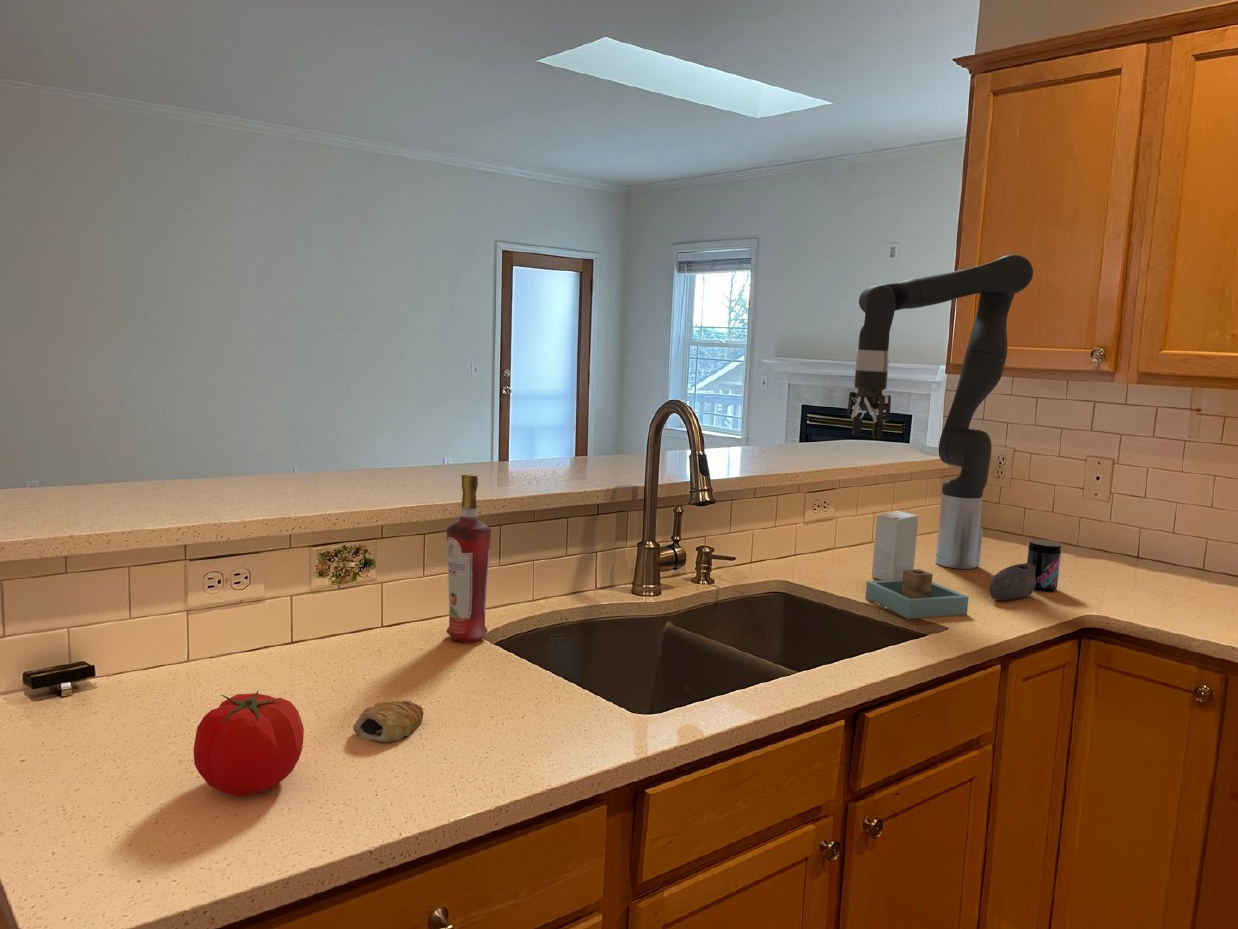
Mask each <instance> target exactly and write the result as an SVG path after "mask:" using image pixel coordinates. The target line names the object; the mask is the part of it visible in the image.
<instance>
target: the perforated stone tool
mask: <svg viewBox="0 0 1238 929" xmlns="http://www.w3.org/2000/svg"><path fill="white" fill-rule="evenodd" d="M1035 571H1036V566H1034V565H1033V564H1030V563H1027V562H1026V563H1019V564H1013V565H1010V566H1008V567H1006V568H1003V569H1001V570H1000V571H999V572H997V573H996V574H995V575H994V576H993V577H992V579H991V580H990V582H989V589H988V590H989V594H990V596H991V598H993V599H994V600H996V601H1013V600H1018V599H1022V598H1024V597H1027V596H1029V595H1031V594H1032V593H1033V592H1034V591H1035V590H1034V588H1035V586H1036V578H1035Z"/></svg>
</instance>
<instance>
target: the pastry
mask: <svg viewBox="0 0 1238 929" xmlns="http://www.w3.org/2000/svg"><path fill="white" fill-rule="evenodd" d="M423 717H424V708H423V707H422V706H421V705H419V704H417V703H416V702H415V703H414V702H412V701H411V700H402V701H400V700H396V701H389V702H388V701H387V702H386V701H384V702H383V701H382V702H380V703H379V702H378V703H375V704H374V705H373V706H369V707H366V708H365V709H364V711H363V712H362V713H361V714H360V715H359V717H358V718H357V720H356V722H355V723H354V724H353V727H352V728H353V732H354V733H355V734H356V736H357V737H359V738H360V739H362V738H363V740H368V741H375V742H378V743H383V744H384V743H385V744H387V743H395V742H397V741H401V740H402V739H403V738H405V736H407V737H409V736H410V735H412V733H413V732H414V731H416V729H417V728H419V726H420V725H421V724H422V722H423V719H424V718H423Z"/></svg>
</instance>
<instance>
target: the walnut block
mask: <svg viewBox="0 0 1238 929" xmlns="http://www.w3.org/2000/svg"><path fill="white" fill-rule="evenodd" d="M933 575H934V574H933V573H931V572H928V571H925V570H923V569H920V568H916V569H914V570H904V571H903V582H902V594H901V595H903V596H906V597H908V598H910V599H914V598H929V597H931V587H932V582H933Z"/></svg>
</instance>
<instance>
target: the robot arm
mask: <svg viewBox="0 0 1238 929" xmlns="http://www.w3.org/2000/svg"><path fill="white" fill-rule="evenodd" d="M1033 277H1034V267H1033V266H1032V263H1031V262H1030V261H1029V260H1028V259H1027V258H1026V257H1025V256H1022V255H1019V254H1007V255H1004V256H1002V257H999V258H997V259H995V260H992V261H990V262H988V263H984V264H981V265H977V266H974V267H969V268H965V269H961V270H953V271H950V272H944V273H943V272H942V273H936V274H931V275H925V276H919V277H914V278H910V279H906V280H902V281H900V282H894V283H885V284H877V285H876V284H875V285H872V286H869V287H866V288H865V289H864V290H863V291H862V292H861V294H860V295H859V298H858V305H859V308H860V309H861V310H862V312H863V313H864V314H865V315H864V321H863V323H864V324H863V326H862V327H861V328H860V331H859V335H858V336H859V337H858V348H857V349H858V350H857V356H856V361H855V373H854V374H855V375H854V388H855V389H858V390H857V391H850V392H849V395H848V401H847V402H848V404H847V412H846V413H847V414H846V415H847V416H850V417H851V419H852V421H851V422H852V425H851V434H852V435H861V433H862V427H863V426H862V425H863V419H862V418H863V417H864V415H865V413H867V412H868V413H869V415H871V417H872V420H873V423H872V434H871V435H872V438H873V439H881V438H883V431H884V430H883V428H884V423H885V422H888V421H890V420H891V405H892V404H891V403H892V397H891V395H889V394H888V395H886V394H884V395H883V391H884V390H886V389H887V384H888V374H889V373H888V372H889V371H888V370H889V349H890V348H889V347H890V346H889V345H890V332H891V328H892V323H893V320H894V317H895V312H896V311H900V310H908V309H918V308H923V307H928V306H930V307H931V306H933V305H938V304H942V303H946V302H949V301H952V300H957V299H959V298H964V297H967V296H971V295H977V294H979V298H978V304H977V310H976V315H975V319H974V321H973V325H972V328H971V331H970V335H969V340H968V343H967V346H966V348H965V349H966V350H965V353H964V357H963V360H962V365H961V370H960V371H961V372H960V375H959V379H958V383H957V386H956V391H955V394H954V397H953V399H952V404H951V407H950V409H949V411H948V415H947V417H946V421H945V423H944V426H943V429H942V431H941V434H940V438H939V443H938V456H939V459H940V460H941V461H942V463H944V464H946V465H951V466H956V467H961V470H960V473H959V476H958V477H956V478H953V479H949V480H946V481H944V482H943V483H942V488H941V500H940V512H939V520H938V521H939V522H938V530H937V531H938V532H937V533H938V534H937V544H936V552H935V553H936V556H935V563H936V564H937V565H939V566H942V567H946V568H950V569H952V568H953V569H957V570H958V569H959V570H960V569H961V570H962V569H963V570H968V569H969V570H970V569H975V568H976V567H980V563H981V562H980V561H981V551H982V542H983V532H984V529H983V527H981V516H982V508H983V507H982V505H983V497H984V490H985V488H986V486H987V482H988V476H989V471H990V466H991V465H990V464H991V458H992V450H993V449H992V448H993V447H992V439H991V437H990V435H989V434H988V432H985V431H984V430H981V429H980V430H979V429H972V428H970V425H971V422H972V419H973V417H974V415H975V412H976V410H977V409H978V407H979V406H980V405H981V404H982V402H983V401H984V400H985V399H986V398H987V397H989V395H990V394H991V392H993V390H994V389H995V388H996V386H997V385H999V384H998V383H999V382H1000V381H1001V378H1002V376H1003V372H1004V369H1005V365H1006V361H1007V356H1008V345H1009V344H1008V335H1007V334H1008V333H1007V320H1008V316H1009V313H1010V312H1009V311H1010V308H1011V306H1012V302H1013V299H1014V297H1015V295H1016V294H1017V293H1019V292H1021V291H1023V290H1025V289H1026V288H1027V287H1028V286H1029V284H1030V283H1031V281H1032V280H1033ZM884 412H885V414H884Z"/></svg>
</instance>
